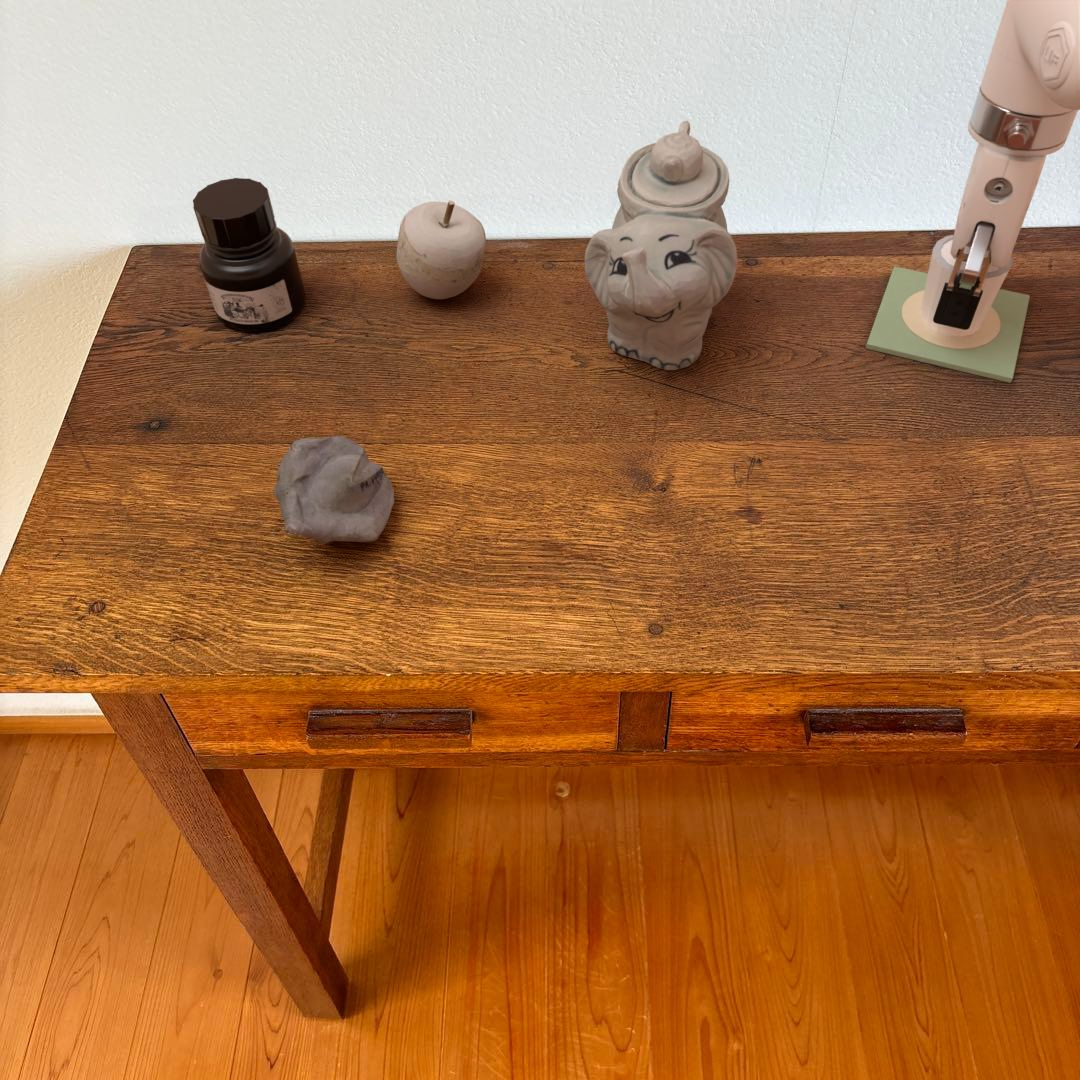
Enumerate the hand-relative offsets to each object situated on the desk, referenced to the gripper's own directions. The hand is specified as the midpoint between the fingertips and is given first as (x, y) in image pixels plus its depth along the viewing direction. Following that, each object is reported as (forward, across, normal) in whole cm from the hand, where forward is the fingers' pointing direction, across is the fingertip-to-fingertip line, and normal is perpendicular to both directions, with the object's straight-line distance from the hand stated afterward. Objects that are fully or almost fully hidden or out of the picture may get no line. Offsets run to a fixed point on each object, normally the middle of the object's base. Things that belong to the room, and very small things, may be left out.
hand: (958, 295), depth 94 cm
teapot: (+3, -13, +25) cm, 28 cm away
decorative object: (+3, -13, +47) cm, 49 cm away
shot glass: (+3, 0, 0) cm, 3 cm away
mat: (+3, 0, 0) cm, 3 cm away
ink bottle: (+3, -22, +63) cm, 67 cm away
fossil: (+3, -44, +41) cm, 60 cm away
